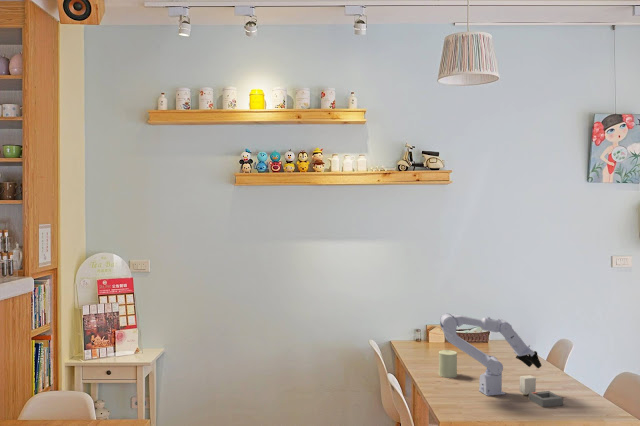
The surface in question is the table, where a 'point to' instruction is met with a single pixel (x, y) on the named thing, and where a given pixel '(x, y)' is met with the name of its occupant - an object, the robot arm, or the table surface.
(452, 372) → the can
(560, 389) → the table surface
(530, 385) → the plug
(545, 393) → the socket
